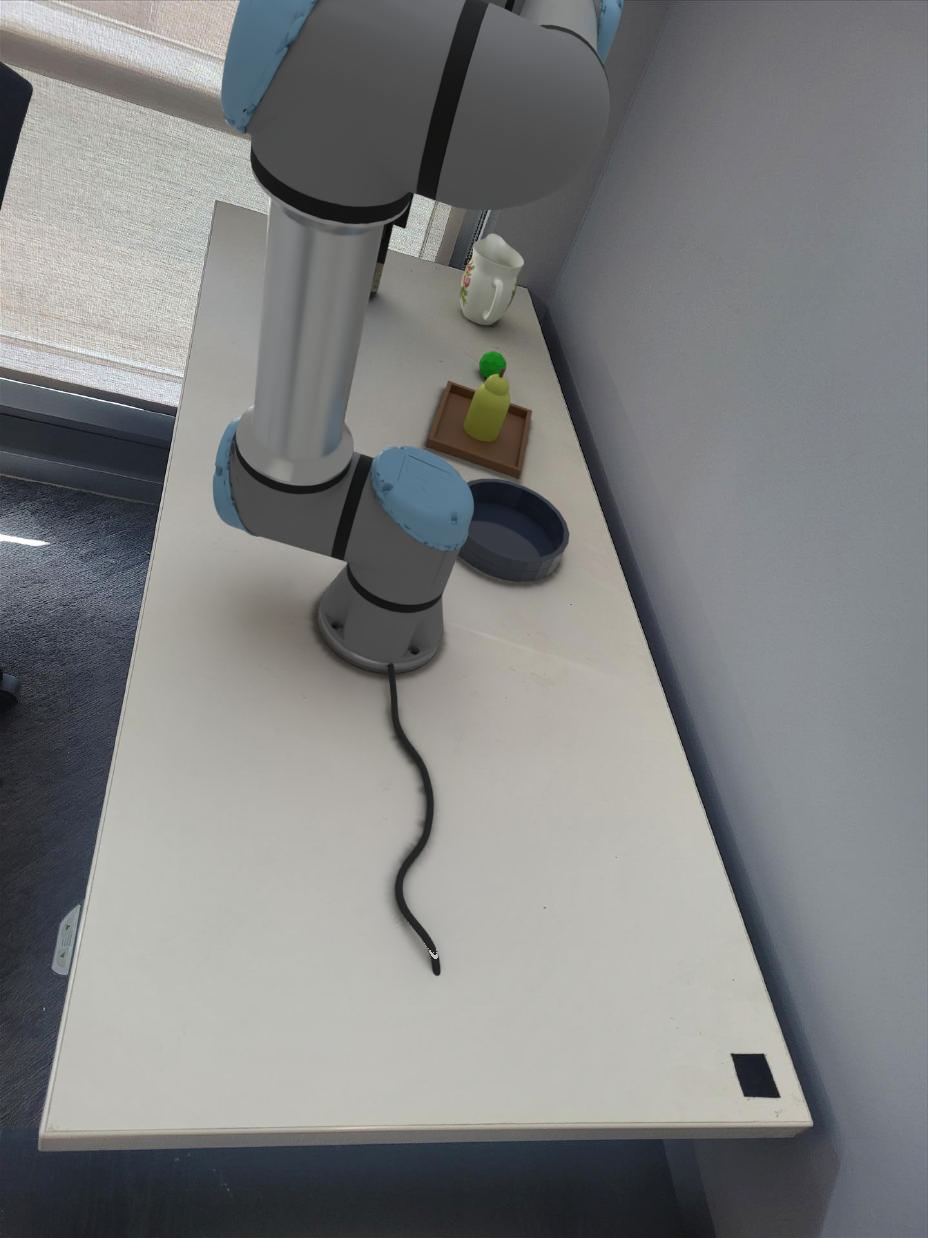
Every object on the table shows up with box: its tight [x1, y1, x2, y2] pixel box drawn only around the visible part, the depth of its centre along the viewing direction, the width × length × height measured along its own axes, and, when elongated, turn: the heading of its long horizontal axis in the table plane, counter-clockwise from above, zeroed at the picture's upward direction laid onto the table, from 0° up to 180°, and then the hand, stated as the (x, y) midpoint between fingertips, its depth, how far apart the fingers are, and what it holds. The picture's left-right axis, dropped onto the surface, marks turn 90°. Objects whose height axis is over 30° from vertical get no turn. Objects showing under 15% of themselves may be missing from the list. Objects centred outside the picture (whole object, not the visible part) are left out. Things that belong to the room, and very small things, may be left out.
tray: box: [425, 380, 533, 479], centre depth 137 cm, size 20×16×2 cm
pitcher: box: [459, 232, 525, 326], centre depth 163 cm, size 11×18×14 cm, turn 6°
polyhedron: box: [478, 350, 507, 379], centre depth 150 cm, size 5×5×5 cm
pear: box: [464, 368, 511, 442], centre depth 133 cm, size 6×6×12 cm
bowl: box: [458, 478, 570, 583], centre depth 118 cm, size 18×18×4 cm
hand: (385, 241), depth 109 cm, fingers open, 13 cm apart
